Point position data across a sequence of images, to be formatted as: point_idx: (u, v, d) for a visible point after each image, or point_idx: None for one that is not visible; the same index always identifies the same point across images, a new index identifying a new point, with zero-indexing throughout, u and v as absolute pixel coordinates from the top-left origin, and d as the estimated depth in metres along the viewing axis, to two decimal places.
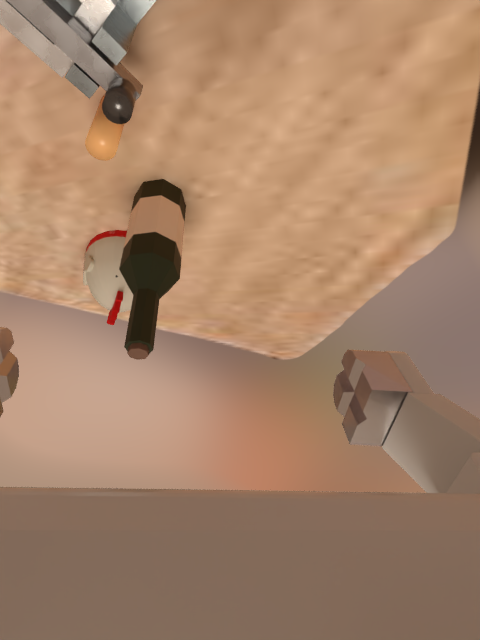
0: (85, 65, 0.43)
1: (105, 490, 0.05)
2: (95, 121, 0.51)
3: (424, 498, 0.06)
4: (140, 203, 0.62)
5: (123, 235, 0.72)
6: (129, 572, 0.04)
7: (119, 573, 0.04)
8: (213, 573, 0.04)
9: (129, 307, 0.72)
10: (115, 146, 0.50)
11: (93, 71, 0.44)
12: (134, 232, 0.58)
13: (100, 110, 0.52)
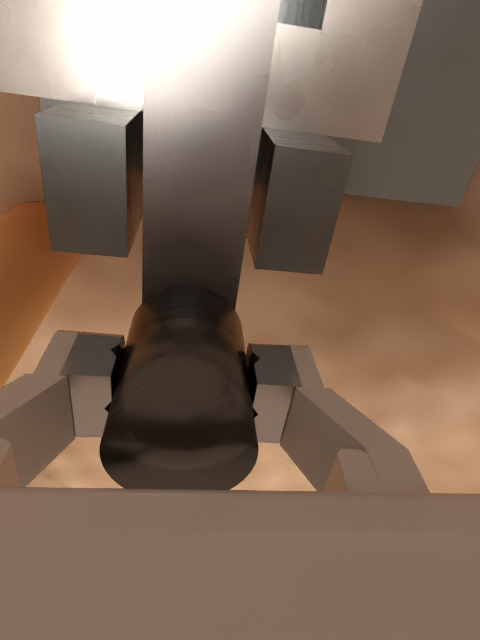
0: (171, 175, 0.09)
1: (105, 490, 0.05)
2: None
3: (424, 498, 0.06)
4: None
5: None
6: (129, 572, 0.04)
7: (119, 573, 0.04)
8: (213, 573, 0.04)
9: None
10: None
11: (175, 215, 0.09)
12: None
13: (16, 245, 0.15)
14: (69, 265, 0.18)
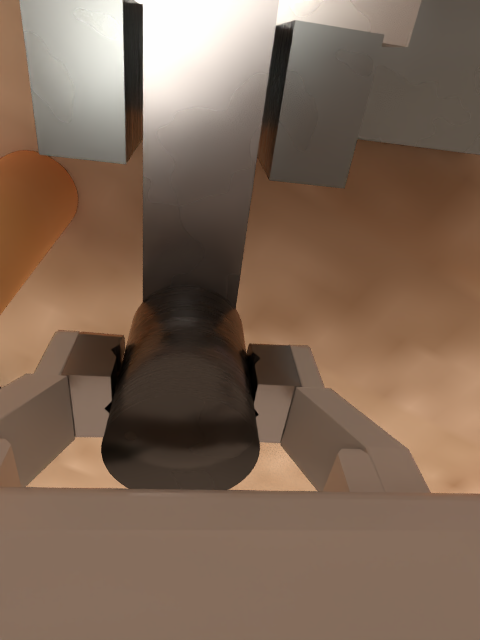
0: (171, 174, 0.09)
1: (105, 490, 0.05)
2: None
3: (424, 498, 0.06)
4: None
5: None
6: (129, 572, 0.04)
7: (119, 573, 0.04)
8: (213, 573, 0.04)
9: None
10: None
11: (174, 214, 0.09)
12: None
13: (5, 184, 0.14)
14: (64, 216, 0.17)
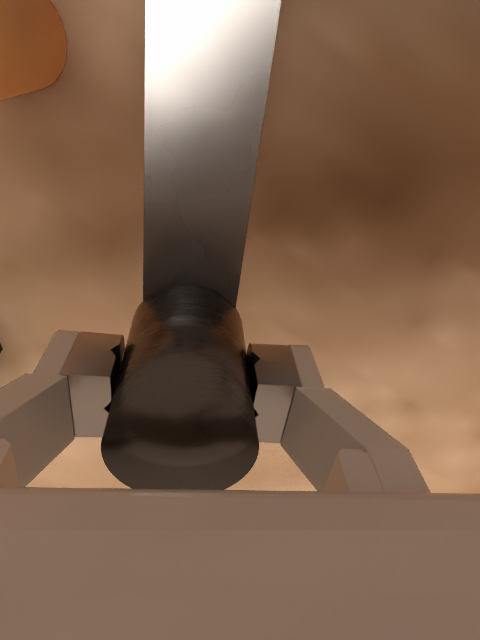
0: (172, 173, 0.09)
1: (105, 490, 0.05)
2: None
3: (424, 498, 0.06)
4: None
5: None
6: (129, 572, 0.04)
7: (119, 573, 0.04)
8: (213, 573, 0.04)
9: None
10: None
11: (175, 213, 0.09)
12: None
13: None
14: (48, 46, 0.14)
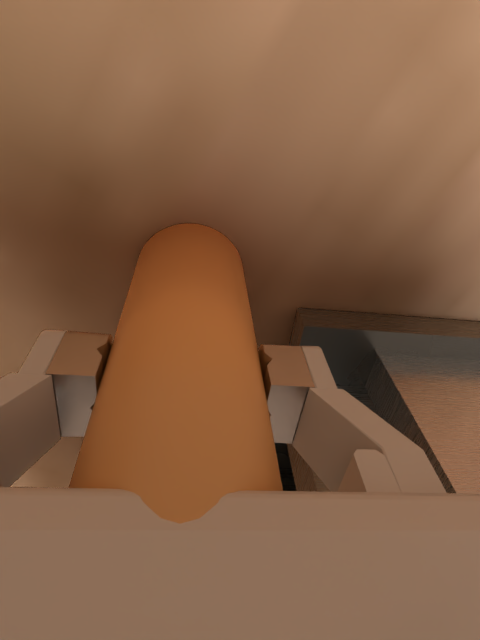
0: None
1: (105, 490, 0.05)
2: None
3: (424, 498, 0.06)
4: None
5: None
6: (129, 572, 0.04)
7: (119, 573, 0.04)
8: (213, 573, 0.04)
9: None
10: None
11: None
12: None
13: None
14: None
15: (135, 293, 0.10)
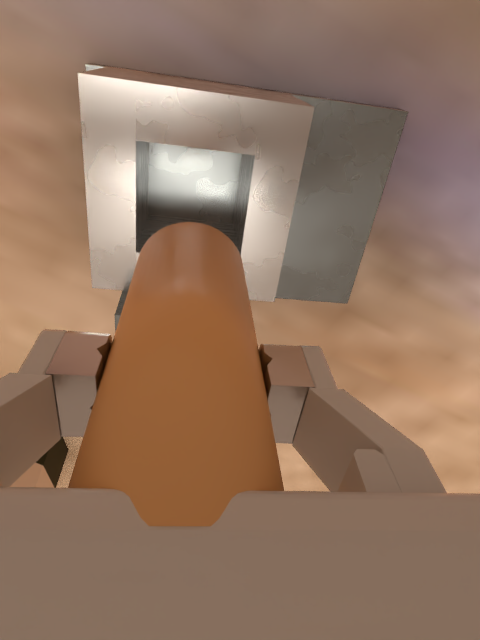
0: None
1: (105, 490, 0.05)
2: None
3: (424, 498, 0.06)
4: None
5: None
6: (129, 572, 0.04)
7: (119, 573, 0.04)
8: (213, 573, 0.04)
9: None
10: None
11: None
12: None
13: None
14: None
15: (135, 292, 0.10)
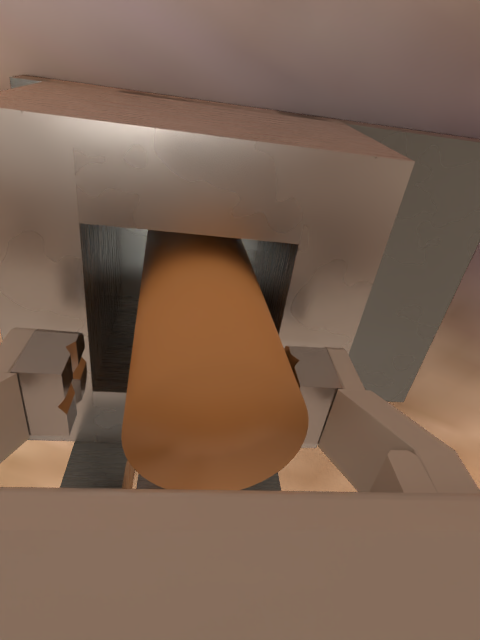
0: None
1: (105, 490, 0.05)
2: None
3: (424, 498, 0.06)
4: None
5: None
6: (129, 572, 0.04)
7: (119, 573, 0.04)
8: (213, 573, 0.04)
9: None
10: (154, 476, 0.09)
11: None
12: None
13: None
14: None
15: (156, 247, 0.12)
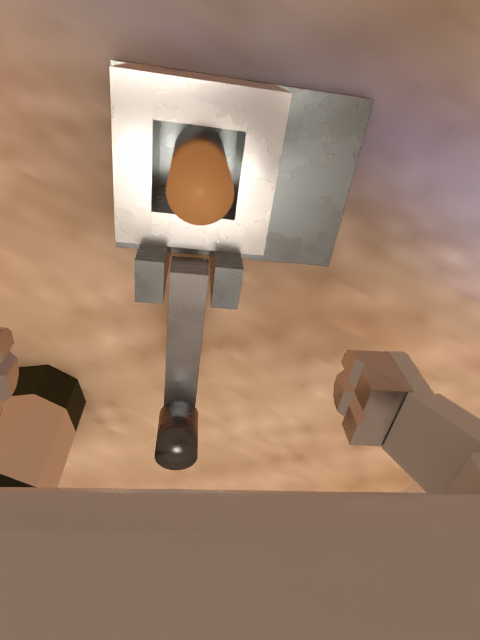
0: (173, 374, 0.30)
1: (105, 490, 0.05)
2: None
3: (424, 498, 0.06)
4: (30, 405, 0.37)
5: None
6: (129, 572, 0.04)
7: (119, 573, 0.04)
8: (213, 573, 0.04)
9: None
10: (177, 213, 0.22)
11: (174, 383, 0.31)
12: None
13: None
14: None
15: (179, 142, 0.26)
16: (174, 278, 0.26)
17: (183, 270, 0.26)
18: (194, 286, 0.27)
